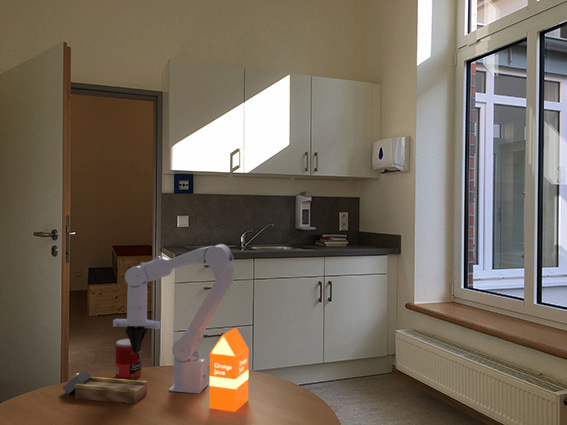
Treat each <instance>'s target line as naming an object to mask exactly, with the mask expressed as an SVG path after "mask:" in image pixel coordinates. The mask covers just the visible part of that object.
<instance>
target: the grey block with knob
mask: <svg viewBox="0 0 567 425" xmlns="http://www.w3.org/2000/svg"><path fill="white" fill-rule="evenodd" d="M91 377H92V376H91V374H90V373H89V372H88V370H85V371H83V372H80V373H79V372H77V373H75V374H74V375H72V378H71V379H70V380H69V381H68V382H67V383H66V384H65V385H63V386H62V389H63V390H64V393H66V395H70V394H72V393H73V392H75V385H76V384H82V383H84V382H86V381H88V380H89V379H90V378H91Z"/></svg>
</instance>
